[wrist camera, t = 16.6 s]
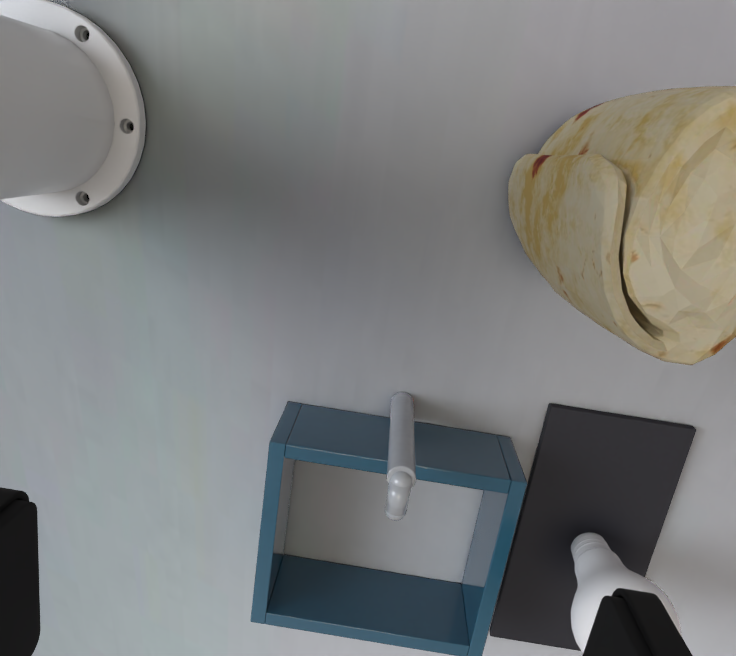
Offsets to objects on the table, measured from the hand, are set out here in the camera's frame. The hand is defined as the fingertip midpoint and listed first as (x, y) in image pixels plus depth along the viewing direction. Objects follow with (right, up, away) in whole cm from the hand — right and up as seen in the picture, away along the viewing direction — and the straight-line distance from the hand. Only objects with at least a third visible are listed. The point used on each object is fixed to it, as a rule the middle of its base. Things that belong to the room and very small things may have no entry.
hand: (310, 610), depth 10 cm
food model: (+13, +13, +27) cm, 33 cm away
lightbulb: (+17, -11, +33) cm, 39 cm away
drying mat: (+17, -11, +34) cm, 39 cm away
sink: (+2, -7, +34) cm, 35 cm away
